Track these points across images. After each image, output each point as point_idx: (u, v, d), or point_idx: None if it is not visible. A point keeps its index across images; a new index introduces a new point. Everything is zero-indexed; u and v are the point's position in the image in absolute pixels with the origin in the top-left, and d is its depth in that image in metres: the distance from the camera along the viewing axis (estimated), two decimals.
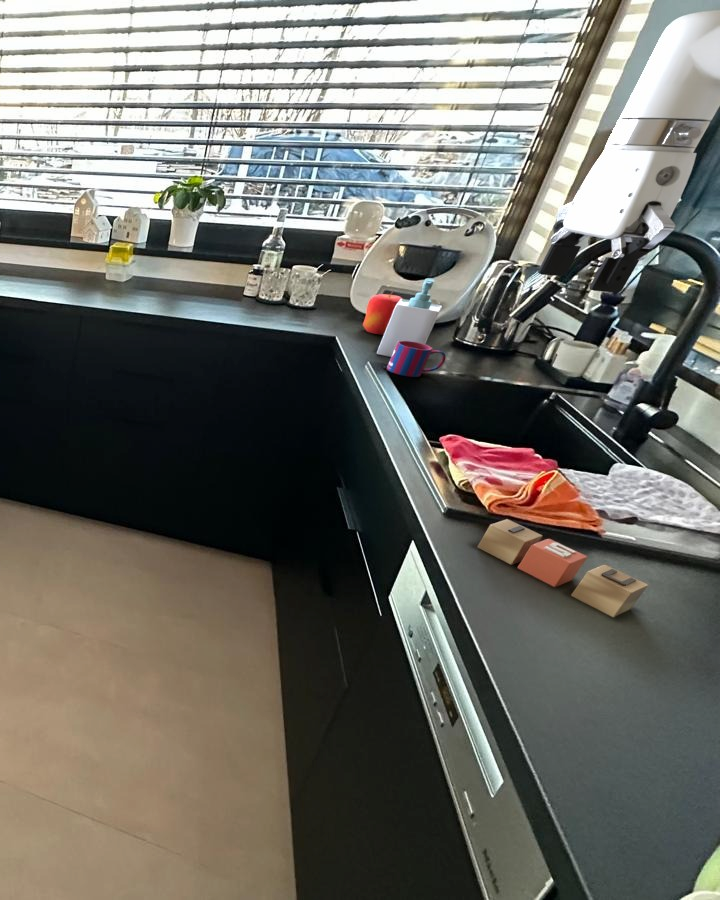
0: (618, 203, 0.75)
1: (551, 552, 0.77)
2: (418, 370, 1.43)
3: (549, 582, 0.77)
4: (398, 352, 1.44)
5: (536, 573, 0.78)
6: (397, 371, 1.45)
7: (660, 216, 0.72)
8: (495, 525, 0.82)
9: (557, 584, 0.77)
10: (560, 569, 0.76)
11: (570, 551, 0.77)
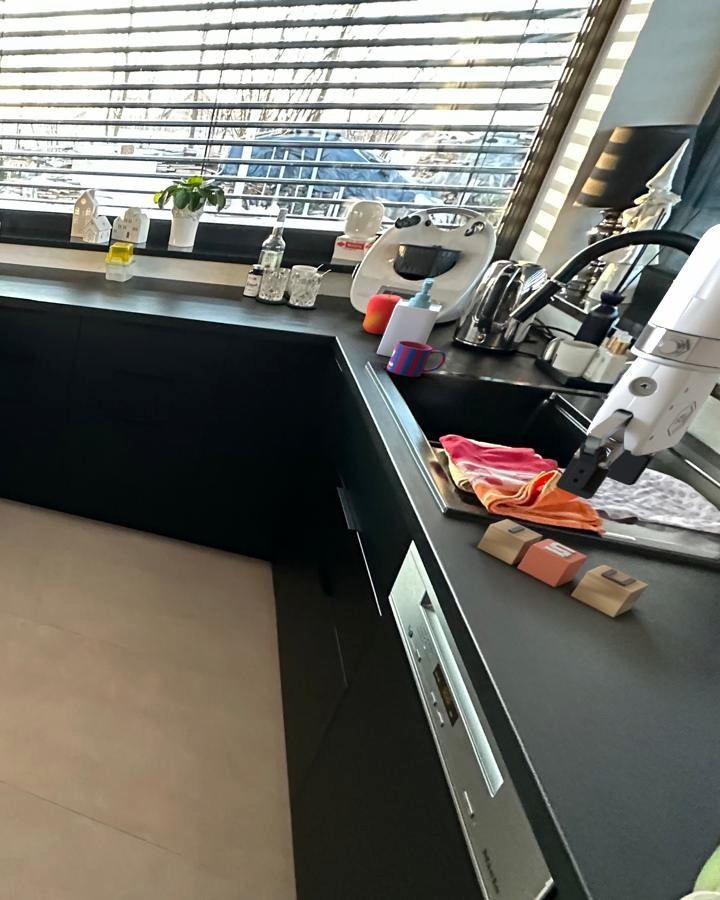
0: None
1: (551, 552, 0.77)
2: (418, 370, 1.43)
3: (549, 582, 0.77)
4: (398, 352, 1.44)
5: (536, 573, 0.78)
6: (397, 371, 1.45)
7: (605, 423, 0.67)
8: (495, 525, 0.82)
9: (557, 584, 0.77)
10: (560, 569, 0.76)
11: (570, 551, 0.77)
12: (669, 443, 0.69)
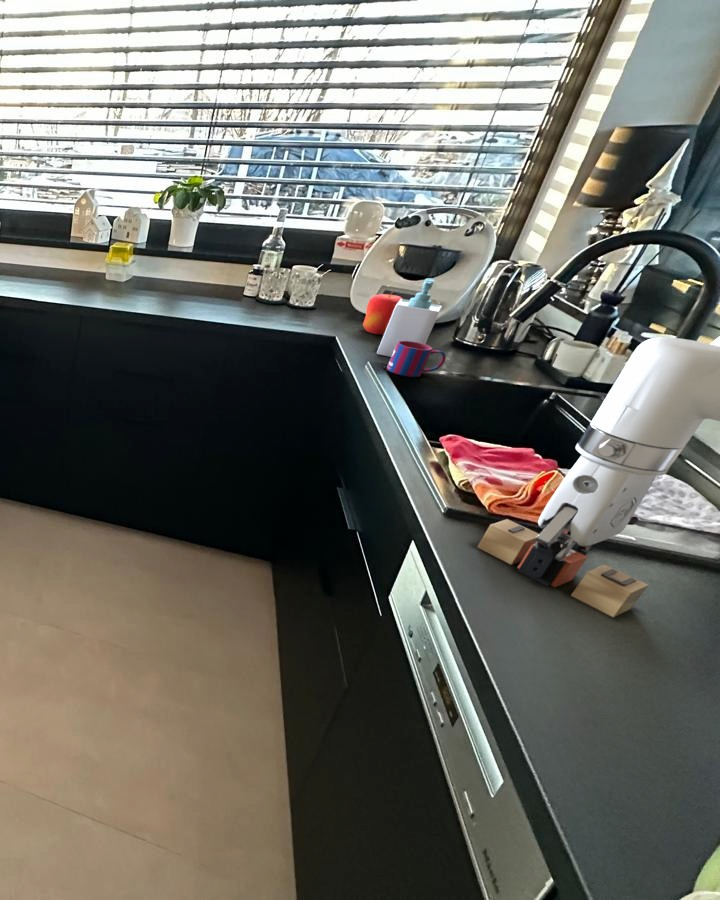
0: None
1: None
2: (418, 370, 1.43)
3: None
4: (398, 352, 1.44)
5: None
6: (397, 371, 1.45)
7: (549, 527, 0.73)
8: (495, 525, 0.82)
9: (557, 584, 0.77)
10: None
11: (570, 551, 0.77)
12: (614, 532, 0.74)
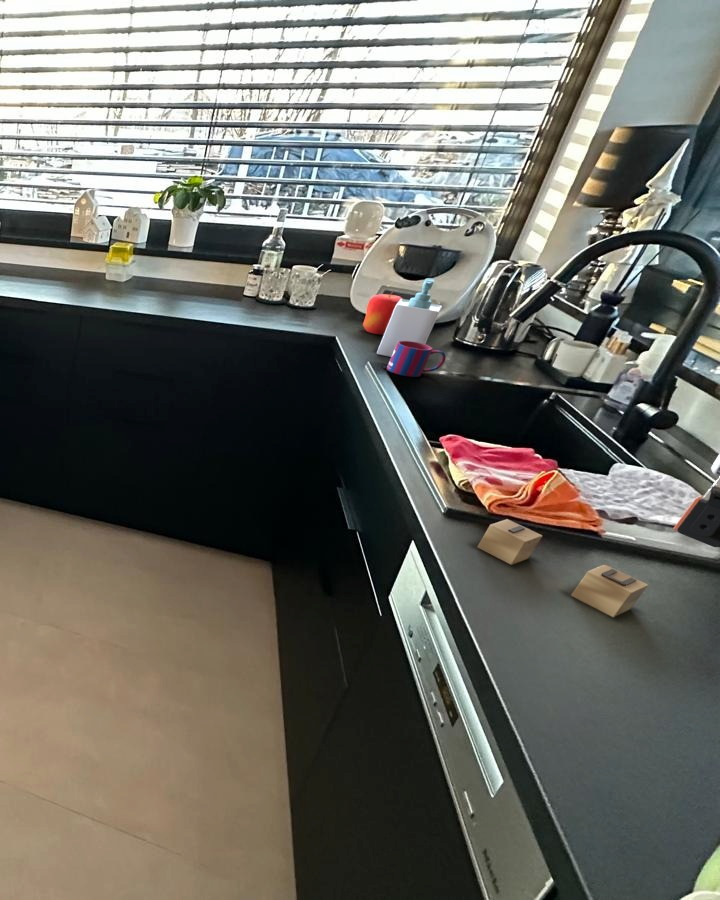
0: None
1: None
2: (418, 370, 1.43)
3: None
4: (398, 352, 1.44)
5: None
6: (397, 371, 1.45)
7: None
8: (495, 525, 0.82)
9: None
10: None
11: None
12: None
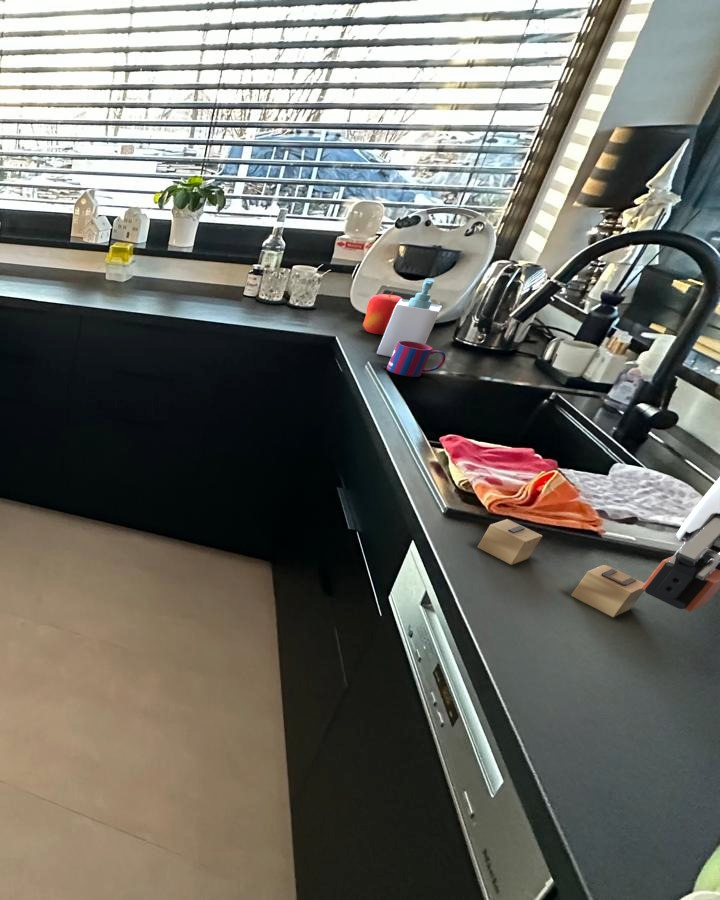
0: None
1: None
2: (418, 370, 1.43)
3: None
4: (398, 352, 1.44)
5: None
6: (397, 371, 1.45)
7: (695, 541, 0.63)
8: (495, 525, 0.82)
9: (694, 606, 0.66)
10: None
11: None
12: None
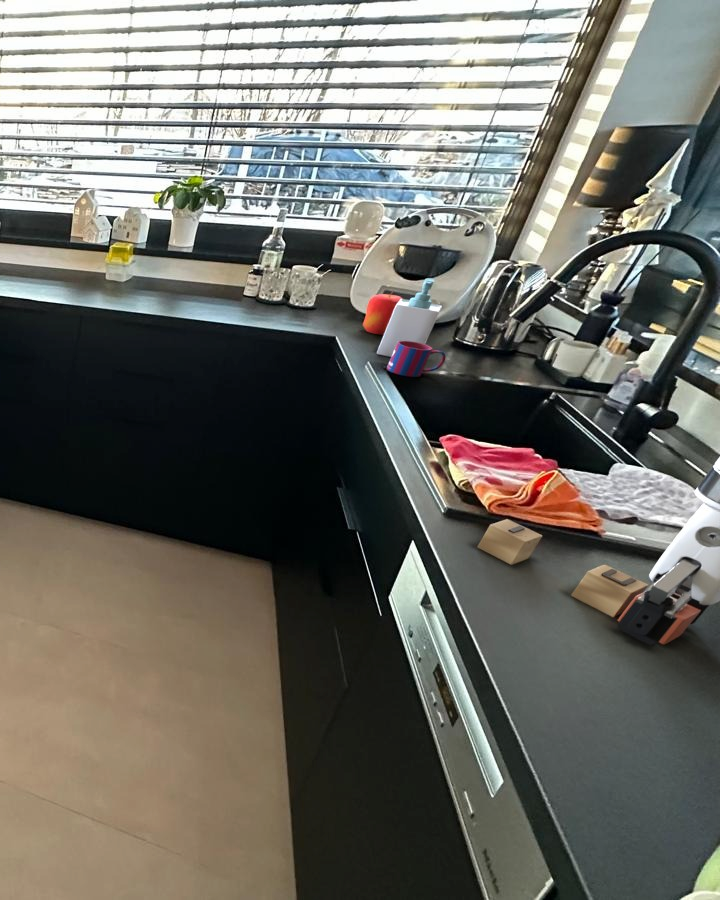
0: None
1: None
2: (418, 370, 1.43)
3: None
4: (398, 352, 1.44)
5: None
6: (397, 371, 1.45)
7: (669, 575, 0.64)
8: (495, 525, 0.82)
9: (666, 641, 0.69)
10: None
11: None
12: None
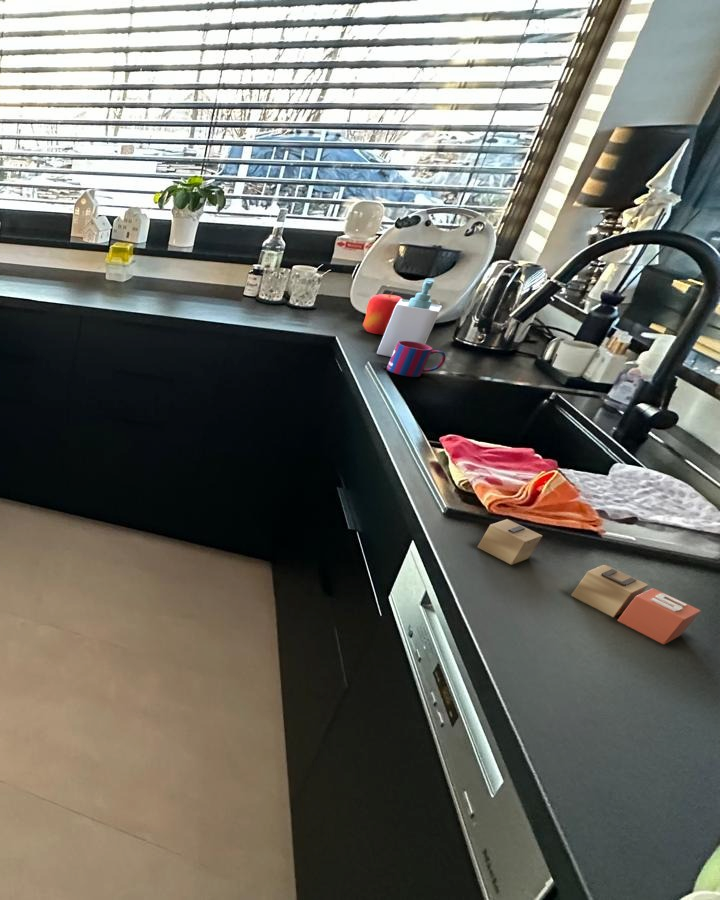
0: None
1: (659, 605, 0.69)
2: (418, 370, 1.43)
3: (657, 639, 0.69)
4: (398, 352, 1.44)
5: (641, 628, 0.70)
6: (397, 371, 1.45)
7: None
8: (495, 525, 0.82)
9: (666, 641, 0.69)
10: (671, 625, 0.68)
11: (680, 604, 0.69)
12: None
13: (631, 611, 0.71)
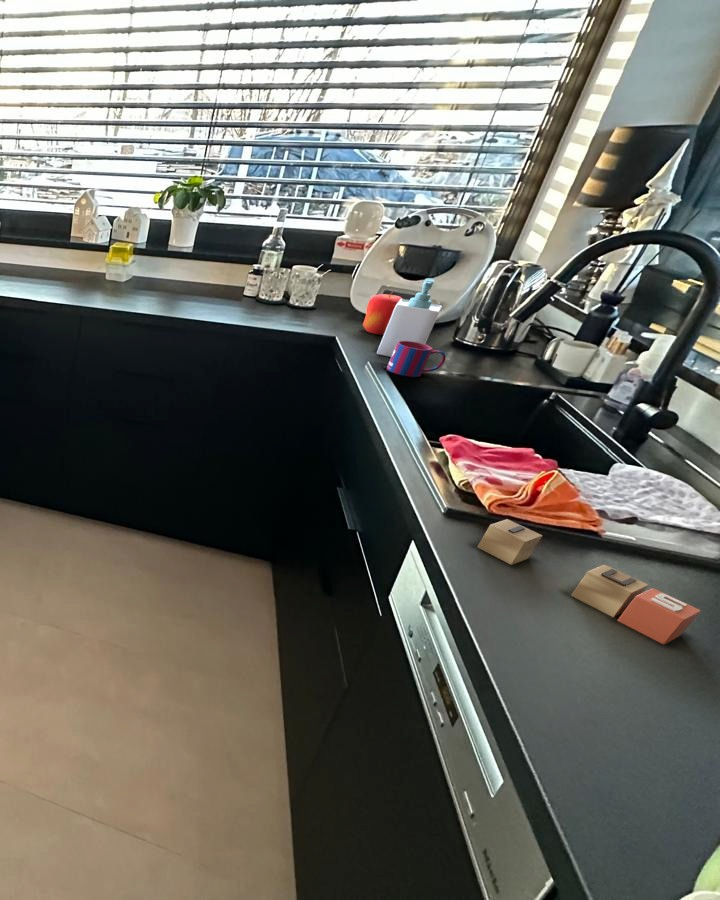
0: None
1: (659, 605, 0.69)
2: (418, 370, 1.43)
3: (657, 639, 0.69)
4: (398, 352, 1.44)
5: (641, 628, 0.70)
6: (397, 371, 1.45)
7: None
8: (495, 525, 0.82)
9: (666, 641, 0.69)
10: (671, 625, 0.68)
11: (680, 604, 0.69)
12: None
13: (631, 611, 0.71)
